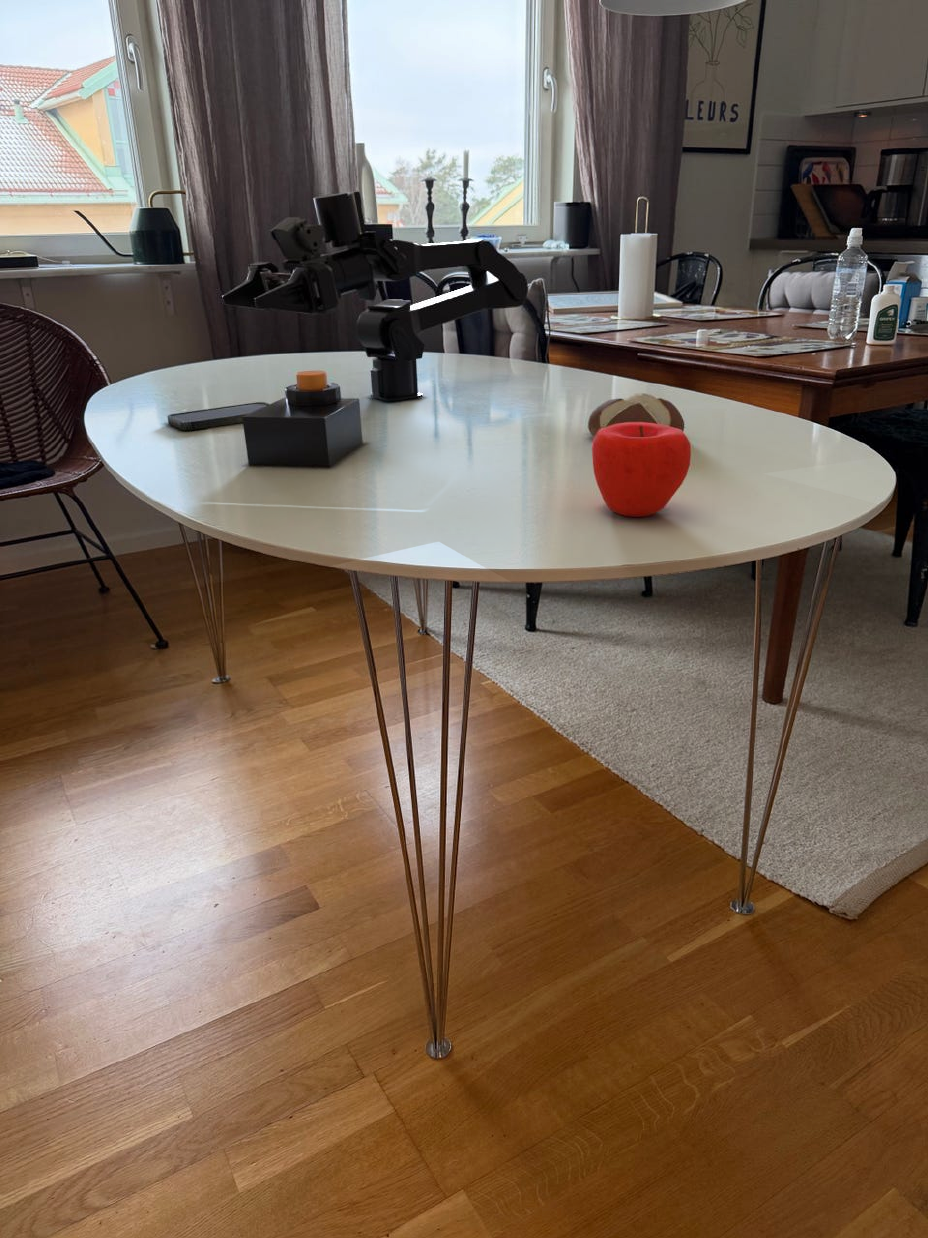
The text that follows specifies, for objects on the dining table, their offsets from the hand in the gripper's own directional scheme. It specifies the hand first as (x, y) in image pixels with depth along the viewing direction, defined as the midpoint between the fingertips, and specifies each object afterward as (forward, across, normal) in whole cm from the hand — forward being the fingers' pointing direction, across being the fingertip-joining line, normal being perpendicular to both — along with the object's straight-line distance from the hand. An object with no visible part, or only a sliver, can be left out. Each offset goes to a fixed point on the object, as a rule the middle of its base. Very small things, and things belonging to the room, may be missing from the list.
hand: (239, 301), depth 116 cm
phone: (+5, -5, +16) cm, 17 cm away
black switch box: (+8, +23, +15) cm, 28 cm away
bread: (-25, +46, +21) cm, 56 cm away
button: (+4, +21, +9) cm, 23 cm away
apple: (-1, +65, +17) cm, 67 cm away
